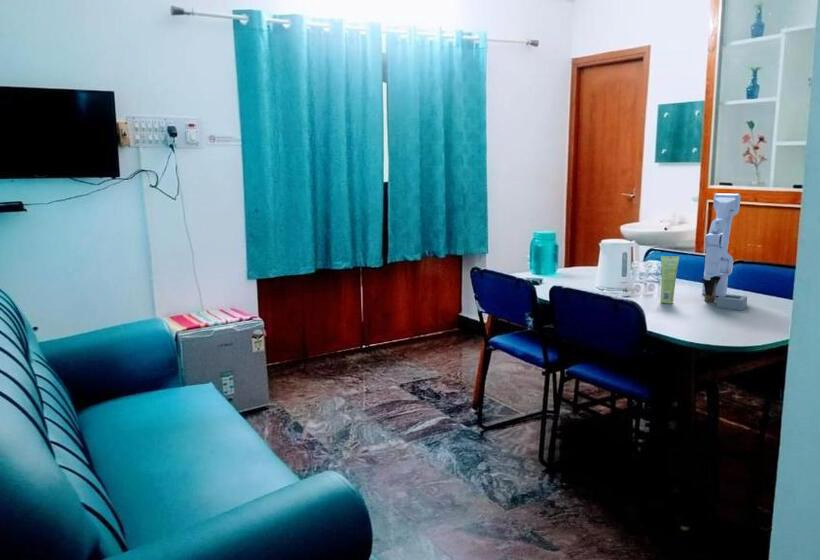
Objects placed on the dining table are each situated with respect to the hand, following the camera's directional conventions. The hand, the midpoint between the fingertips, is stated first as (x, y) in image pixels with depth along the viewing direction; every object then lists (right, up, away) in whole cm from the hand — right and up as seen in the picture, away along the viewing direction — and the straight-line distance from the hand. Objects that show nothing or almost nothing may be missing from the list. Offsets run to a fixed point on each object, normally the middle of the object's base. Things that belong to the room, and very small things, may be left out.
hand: (710, 294), depth 264 cm
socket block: (+4, -5, -9) cm, 11 cm away
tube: (-18, -4, -1) cm, 19 cm away
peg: (0, -3, +1) cm, 3 cm away
